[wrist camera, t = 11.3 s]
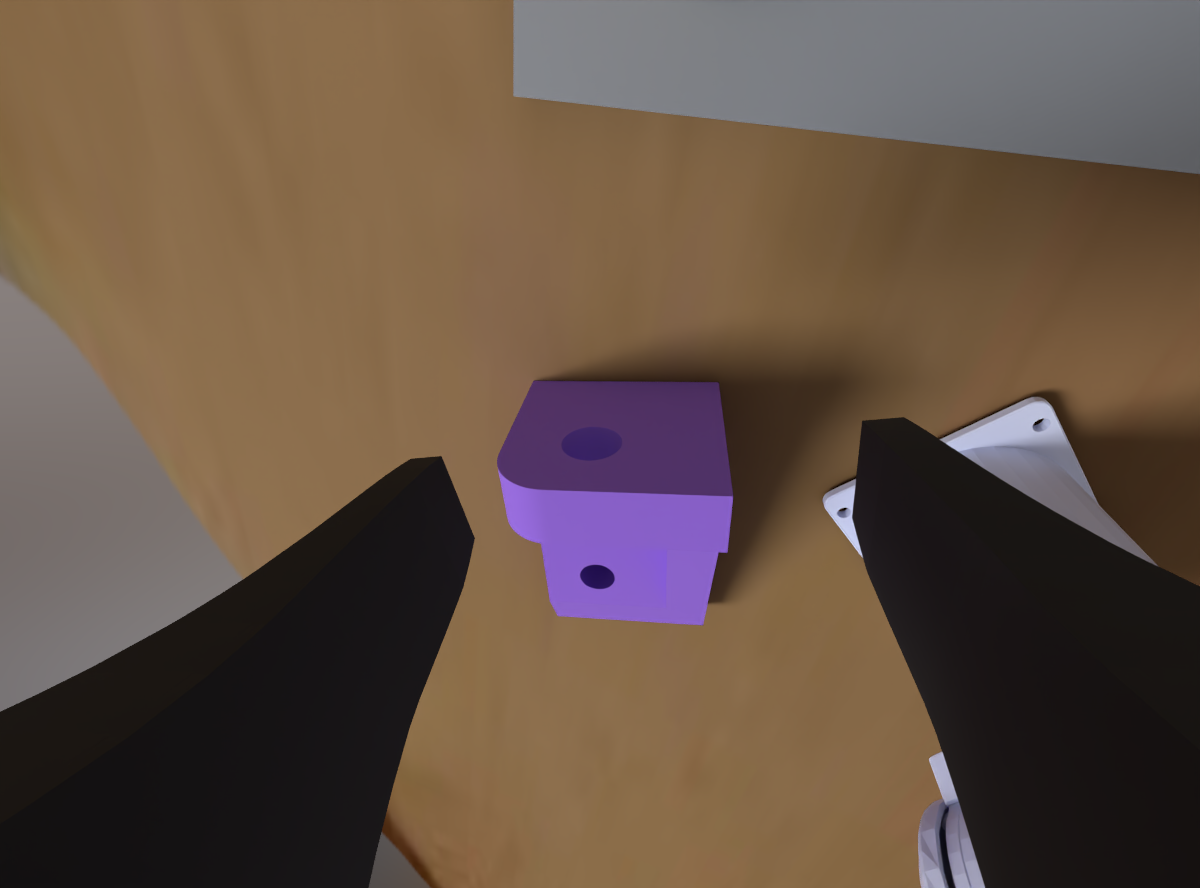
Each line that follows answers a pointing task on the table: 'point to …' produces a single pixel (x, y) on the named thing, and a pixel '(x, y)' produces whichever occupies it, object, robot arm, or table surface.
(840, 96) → the board
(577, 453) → the bracket
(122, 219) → the table surface
